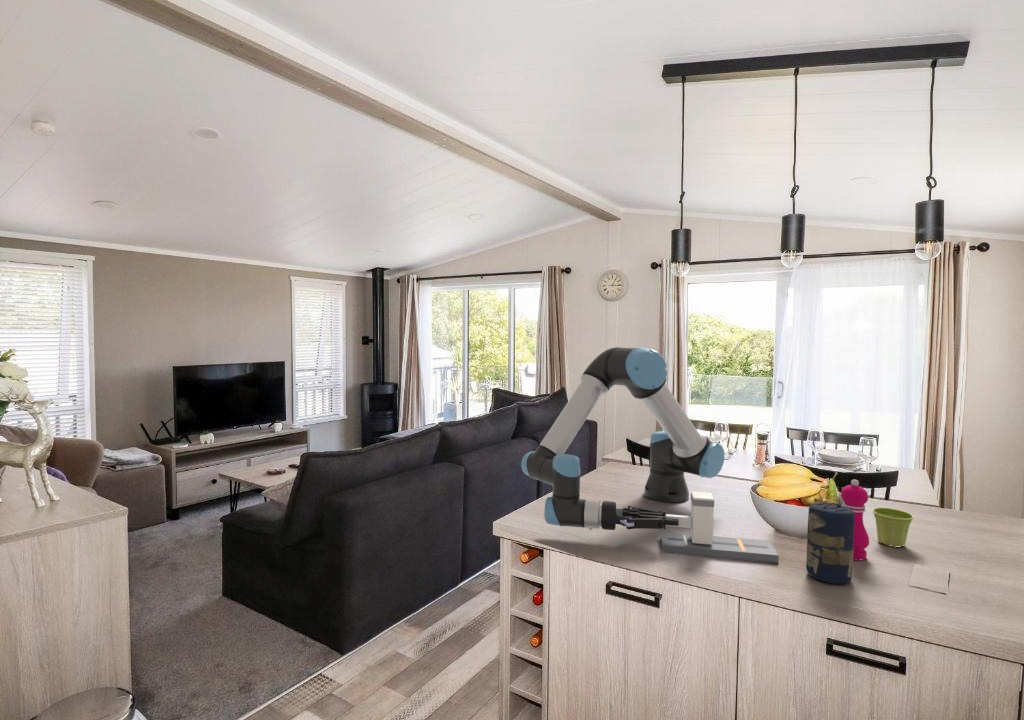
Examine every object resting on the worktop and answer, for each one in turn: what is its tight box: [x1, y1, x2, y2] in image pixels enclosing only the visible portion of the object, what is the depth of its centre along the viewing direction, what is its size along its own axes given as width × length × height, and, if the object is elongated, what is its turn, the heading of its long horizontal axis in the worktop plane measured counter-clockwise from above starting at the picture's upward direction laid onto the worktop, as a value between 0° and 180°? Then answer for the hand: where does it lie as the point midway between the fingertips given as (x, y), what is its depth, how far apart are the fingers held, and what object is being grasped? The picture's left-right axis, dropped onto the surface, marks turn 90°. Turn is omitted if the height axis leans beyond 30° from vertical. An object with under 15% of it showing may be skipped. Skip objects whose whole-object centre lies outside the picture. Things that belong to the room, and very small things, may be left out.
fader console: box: [660, 531, 780, 564], centre depth 147 cm, size 28×10×2 cm, turn 77°
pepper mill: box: [840, 479, 870, 561], centre depth 144 cm, size 7×7×20 cm
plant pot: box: [871, 507, 915, 546], centre depth 153 cm, size 9×9×9 cm
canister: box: [805, 501, 855, 585], centre depth 131 cm, size 10×10×18 cm
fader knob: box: [689, 490, 715, 545], centre depth 148 cm, size 5×6×12 cm
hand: (691, 522), depth 147 cm, fingers closed
